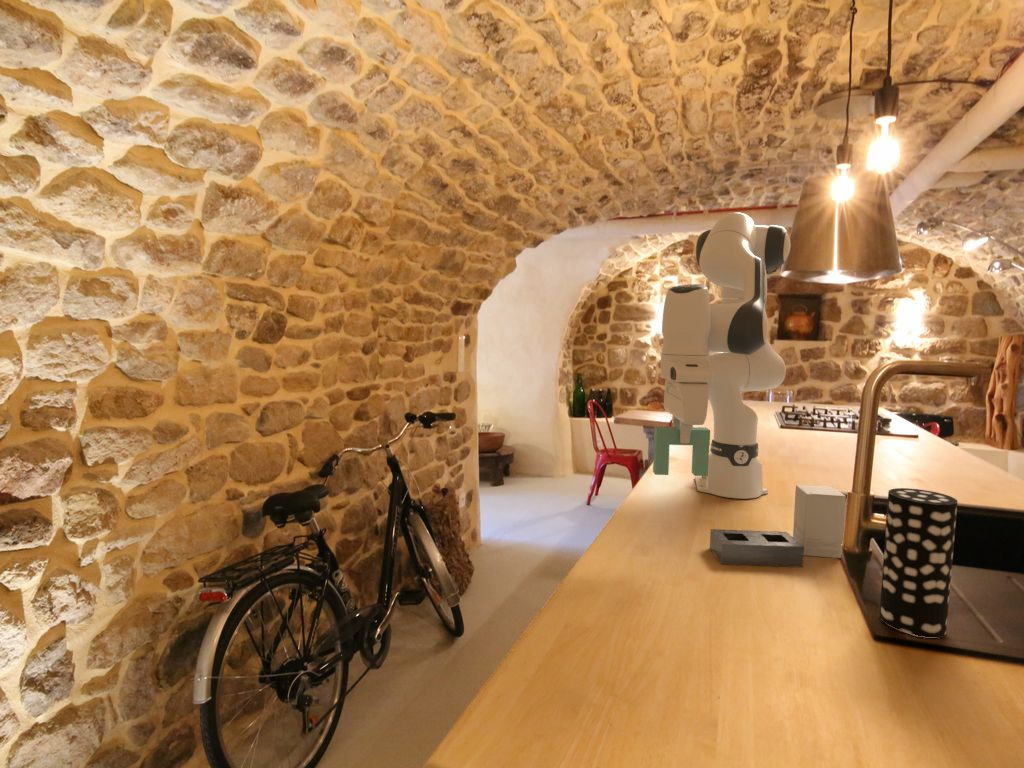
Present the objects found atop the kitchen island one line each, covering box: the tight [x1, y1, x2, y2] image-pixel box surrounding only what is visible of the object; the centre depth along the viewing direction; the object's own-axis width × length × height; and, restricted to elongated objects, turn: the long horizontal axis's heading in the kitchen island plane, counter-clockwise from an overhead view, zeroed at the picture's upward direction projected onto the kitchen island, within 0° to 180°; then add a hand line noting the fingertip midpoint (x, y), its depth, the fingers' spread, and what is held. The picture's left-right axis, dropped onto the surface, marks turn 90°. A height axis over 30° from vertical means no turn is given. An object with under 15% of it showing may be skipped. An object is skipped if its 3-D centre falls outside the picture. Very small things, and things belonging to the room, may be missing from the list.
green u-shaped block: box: [652, 426, 711, 477], centre depth 110 cm, size 3×10×9 cm, turn 86°
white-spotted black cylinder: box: [879, 487, 958, 638], centre depth 85 cm, size 8×8×20 cm
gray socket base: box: [709, 528, 805, 568], centre depth 110 cm, size 8×15×4 cm, turn 86°
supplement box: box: [792, 484, 847, 559], centre depth 114 cm, size 7×7×13 cm
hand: (681, 440), depth 109 cm, fingers closed on green u-shaped block, 3 cm apart
